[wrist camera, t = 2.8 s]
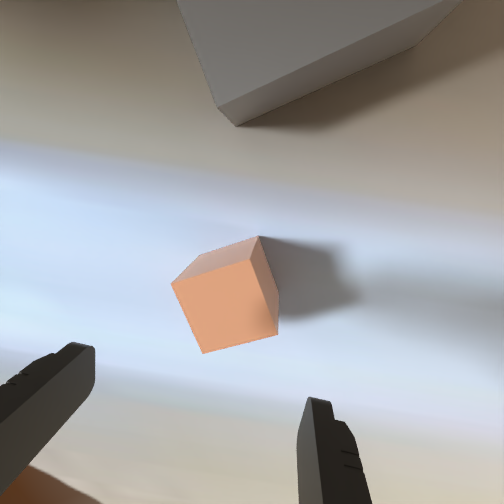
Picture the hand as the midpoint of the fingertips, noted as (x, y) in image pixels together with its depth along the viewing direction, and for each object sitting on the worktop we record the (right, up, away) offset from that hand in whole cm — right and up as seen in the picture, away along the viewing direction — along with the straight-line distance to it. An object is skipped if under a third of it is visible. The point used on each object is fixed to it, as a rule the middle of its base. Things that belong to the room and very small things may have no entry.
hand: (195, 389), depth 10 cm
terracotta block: (+1, +3, +12) cm, 13 cm away
